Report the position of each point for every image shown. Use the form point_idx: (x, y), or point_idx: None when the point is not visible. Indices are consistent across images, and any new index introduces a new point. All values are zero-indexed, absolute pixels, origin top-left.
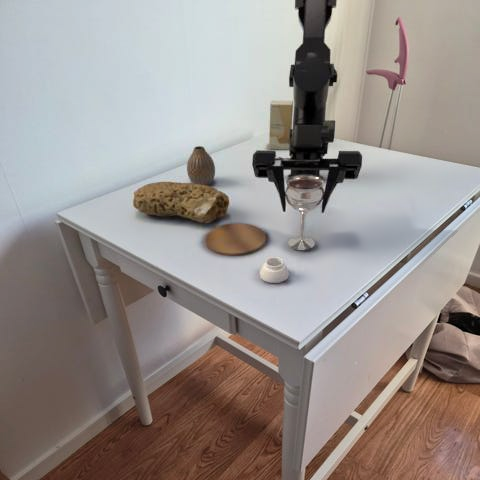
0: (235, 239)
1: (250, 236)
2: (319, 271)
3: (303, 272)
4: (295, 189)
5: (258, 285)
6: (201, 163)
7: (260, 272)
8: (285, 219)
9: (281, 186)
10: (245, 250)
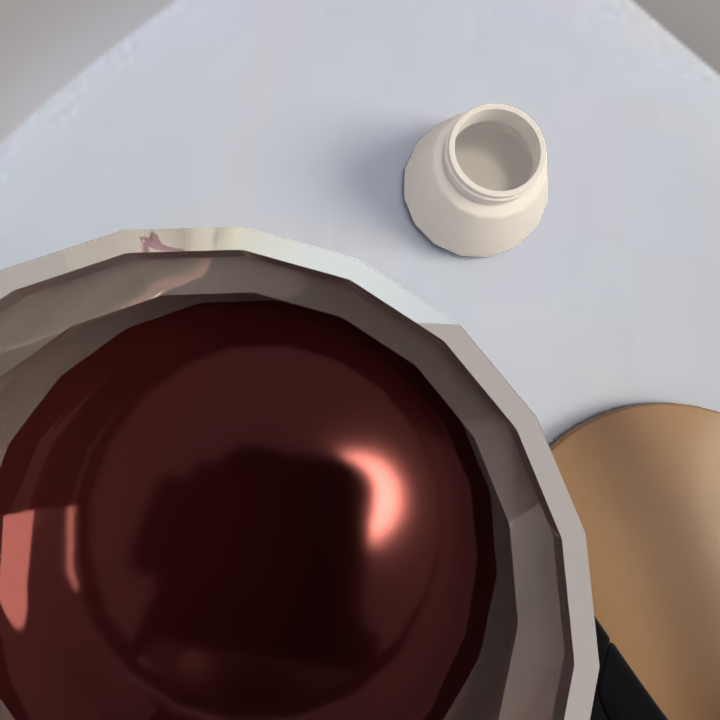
0: (679, 561)
1: (592, 592)
2: (248, 213)
3: (327, 214)
4: (426, 318)
5: (544, 135)
6: None
7: (547, 178)
8: None
9: (597, 715)
10: (618, 426)
